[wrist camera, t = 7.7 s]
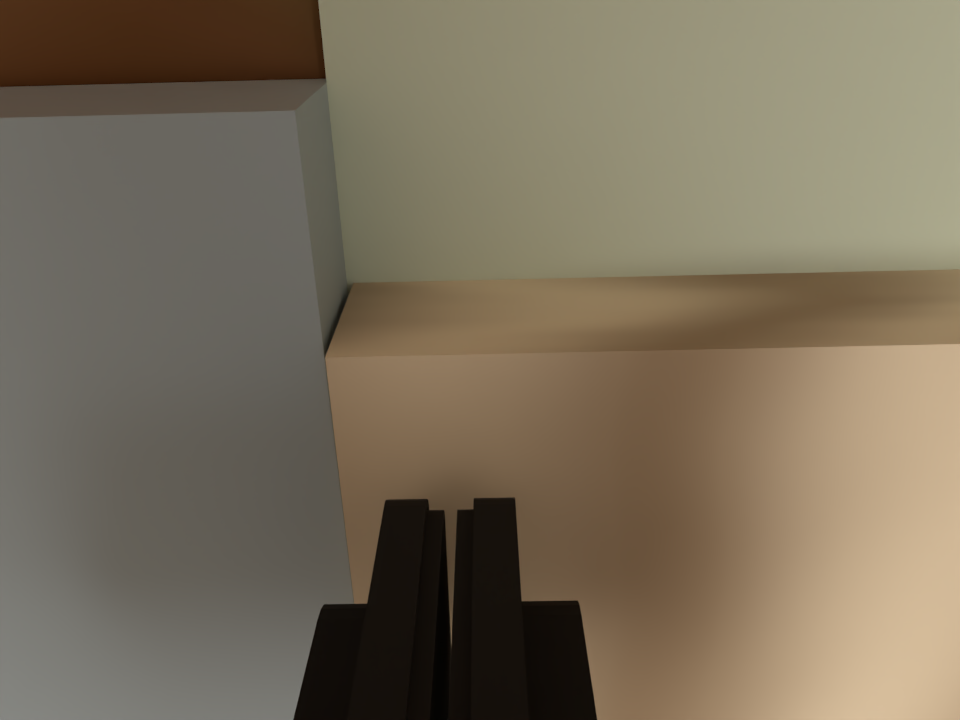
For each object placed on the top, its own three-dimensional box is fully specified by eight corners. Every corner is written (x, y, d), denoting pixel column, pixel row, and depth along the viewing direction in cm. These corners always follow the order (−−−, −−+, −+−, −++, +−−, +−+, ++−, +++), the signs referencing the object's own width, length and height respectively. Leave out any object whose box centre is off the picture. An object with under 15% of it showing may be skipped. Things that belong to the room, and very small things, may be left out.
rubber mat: (1625, -171, 10) (1667, -175, 10) (1155, 774, 18) (1169, 792, 17) (309, -134, 10) (303, -137, 10) (401, 787, 18) (399, 803, 17)
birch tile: (1035, 267, 12) (1160, 339, 10) (932, 628, 15) (1009, 744, 13) (353, 283, 12) (325, 357, 10) (388, 638, 15) (372, 754, 13)
